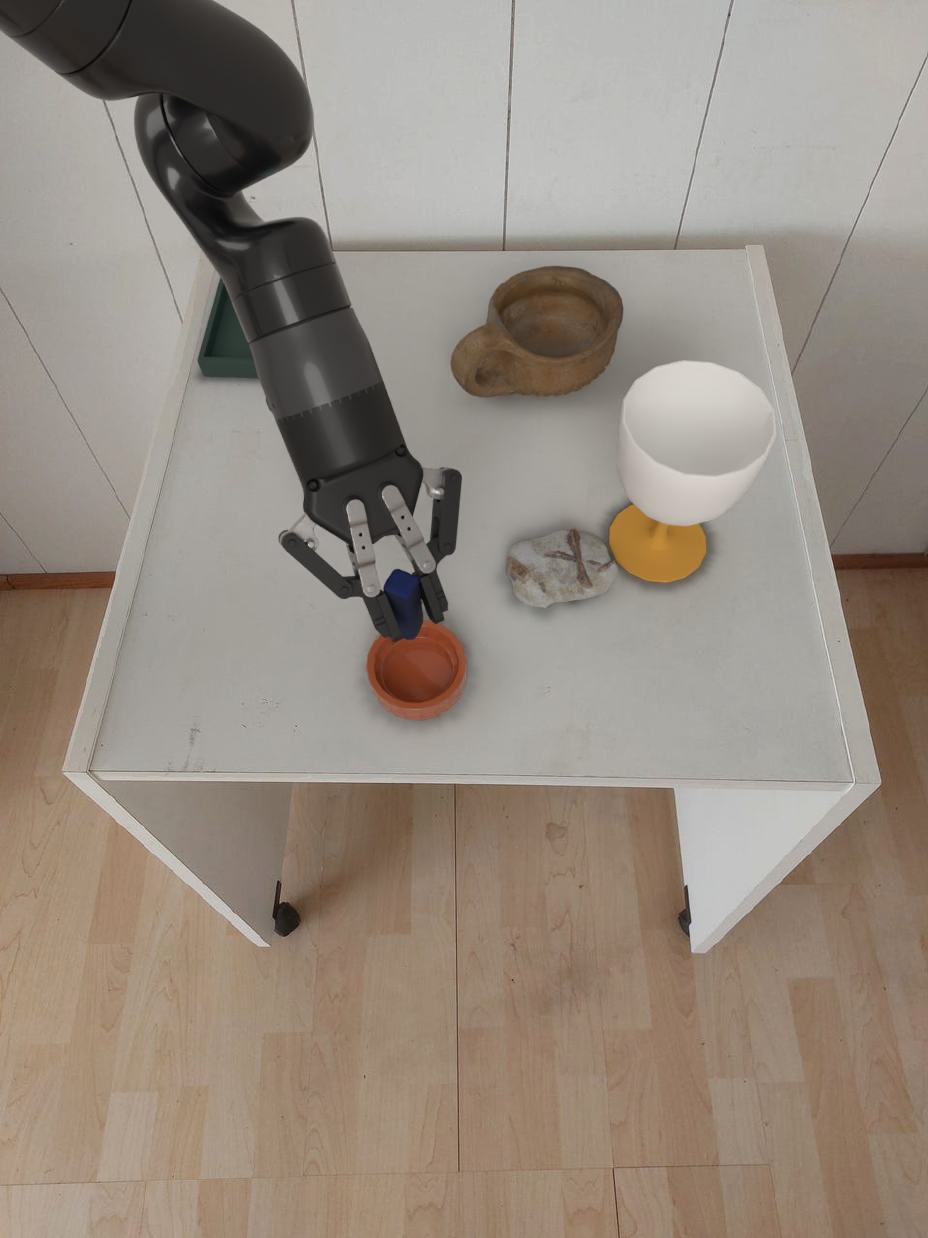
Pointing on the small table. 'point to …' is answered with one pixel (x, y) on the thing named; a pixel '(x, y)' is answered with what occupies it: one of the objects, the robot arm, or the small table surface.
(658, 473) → the cup
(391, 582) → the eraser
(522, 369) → the bowl
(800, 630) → the small table surface
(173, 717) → the small table surface
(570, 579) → the stone
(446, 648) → the dish
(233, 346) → the tray
